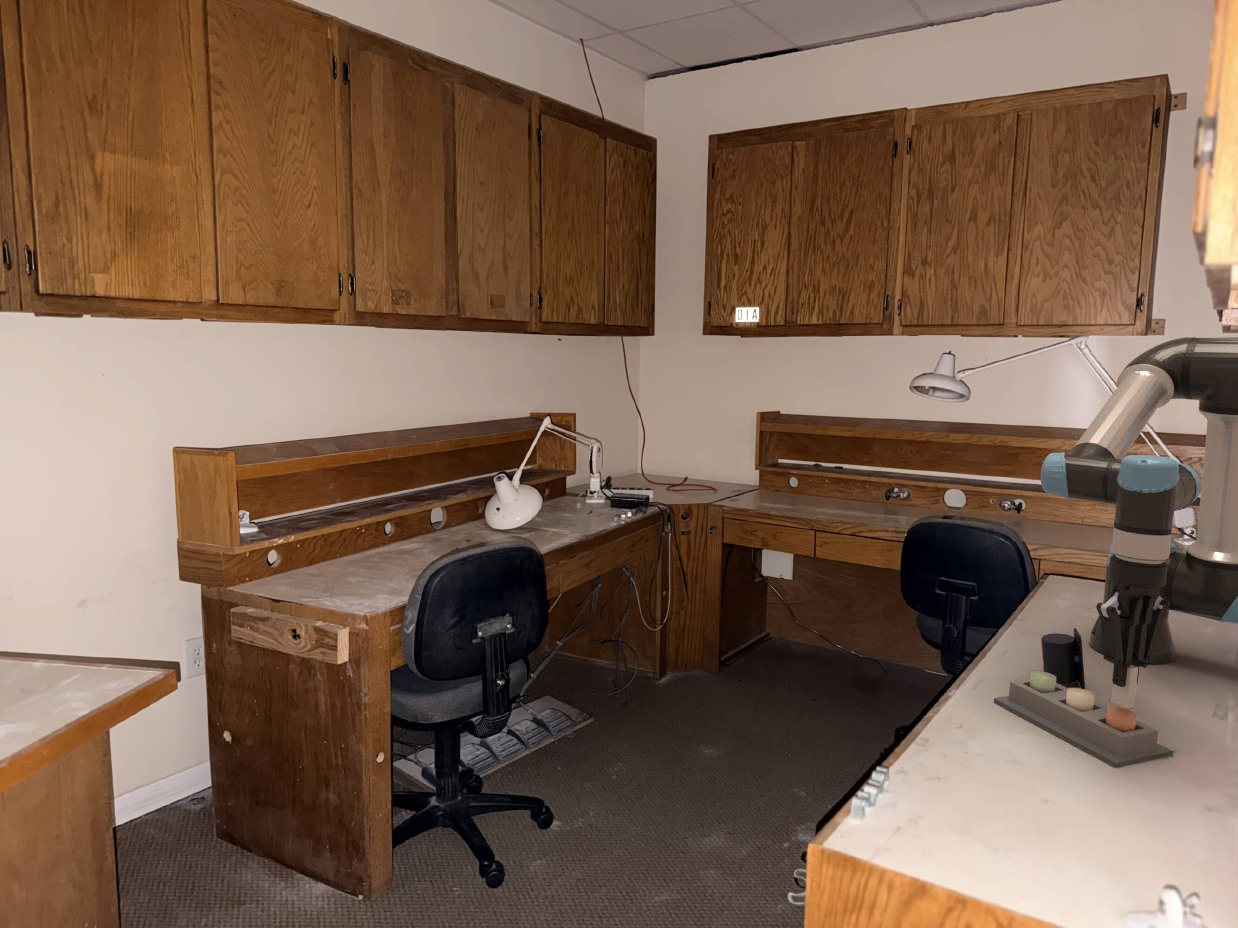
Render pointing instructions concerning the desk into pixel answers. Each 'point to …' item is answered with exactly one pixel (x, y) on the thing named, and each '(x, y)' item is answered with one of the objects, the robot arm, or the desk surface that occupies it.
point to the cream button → (1080, 699)
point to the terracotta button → (1121, 719)
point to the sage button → (1043, 681)
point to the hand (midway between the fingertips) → (1122, 704)
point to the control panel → (1083, 726)
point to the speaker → (1064, 658)
